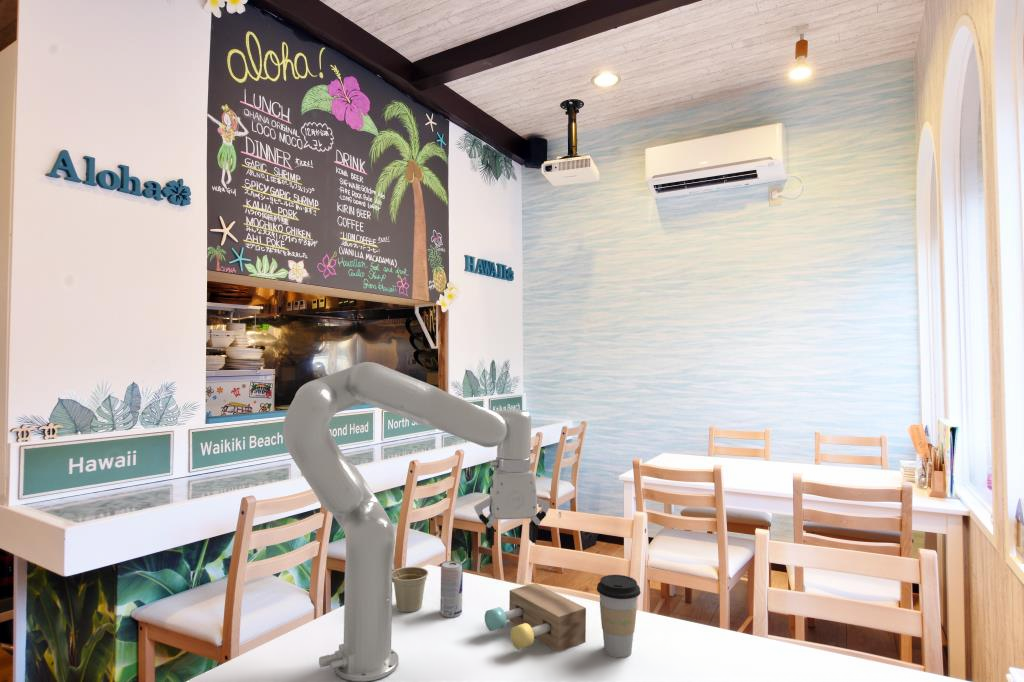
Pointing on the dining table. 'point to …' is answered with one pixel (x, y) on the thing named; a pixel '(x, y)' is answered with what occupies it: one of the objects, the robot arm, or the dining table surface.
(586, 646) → the dining table surface
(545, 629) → the knob
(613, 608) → the coffee cup
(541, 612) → the block
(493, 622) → the knob
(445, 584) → the energy drink
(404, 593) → the flower pot
